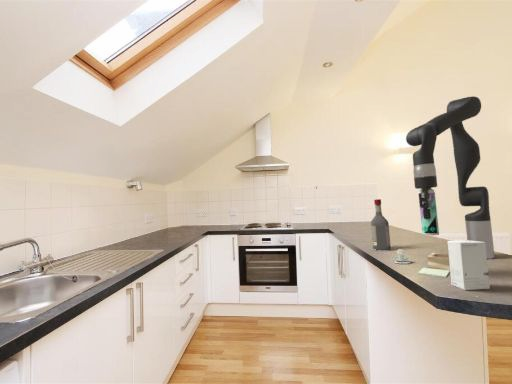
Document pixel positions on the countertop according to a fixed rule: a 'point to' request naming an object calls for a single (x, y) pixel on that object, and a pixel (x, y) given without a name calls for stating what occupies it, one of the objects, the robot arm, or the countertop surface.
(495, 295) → the countertop surface
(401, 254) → the pacifier
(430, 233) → the spray can
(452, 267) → the skincare box
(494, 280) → the countertop surface
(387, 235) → the liquor
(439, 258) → the wooden box holder
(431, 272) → the mat
